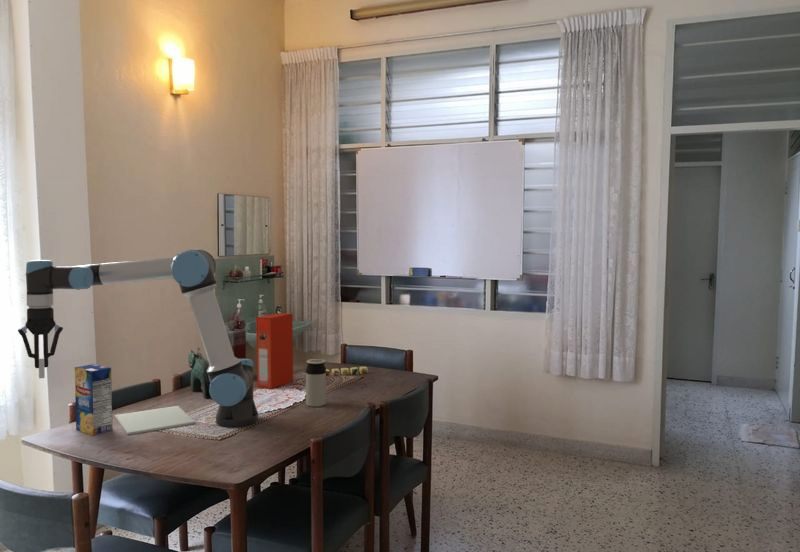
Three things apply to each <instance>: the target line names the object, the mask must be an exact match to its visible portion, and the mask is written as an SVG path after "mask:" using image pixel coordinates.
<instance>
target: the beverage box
mask: <svg viewBox="0 0 800 552" xmlns="http://www.w3.org/2000/svg"><path fill="white" fill-rule="evenodd" d="M112 387H113V386H112V367H110V366H106V365H105V366H104V365H101V364H97V363H91V364H87V365H81V366H74V392H75V393H74V394H75V395H74V396H75V397H74V398H75V399H74V401H75V429H76V430H77V431H80V432H83V433H85V434H88V435H92V436H96V435H100V434H103V433H107V432H111V431H113V397H112V396H113V393H112V392H113V389H112Z"/></svg>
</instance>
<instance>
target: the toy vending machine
mask: <svg viewBox="0 0 800 552" xmlns="http://www.w3.org/2000/svg"><path fill="white" fill-rule="evenodd" d="M227 328H228V329H226V331H227V334H228V337H229V340H230V344H231V347H232V350H233V353H234V356H235V357H236V358H238V359H247V332H246V329H241V328H240V329H239V328H238V322H237V321H236V320H229V321H228V322H227Z"/></svg>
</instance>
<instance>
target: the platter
mask: <svg viewBox="0 0 800 552" xmlns="http://www.w3.org/2000/svg"><path fill="white" fill-rule="evenodd" d="M330 372H331V373H330ZM359 372H360V373H359ZM368 372H369V370H368V367H367V366H359V367H357V366H356V367H354V366H353V367H350V368H348V367H341V368H340V369H339V368H331V371H330V370H329V369H327V368H326V376H332V375H333V377H335V376H334V375H341V374H342V375H341V376H349V375H352V374H356V375H359V374H361V375H364V374H363V373H368ZM350 373H351V374H350ZM330 374H331V375H330ZM348 374H349V375H348Z"/></svg>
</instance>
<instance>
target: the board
mask: <svg viewBox="0 0 800 552" xmlns="http://www.w3.org/2000/svg"><path fill="white" fill-rule="evenodd" d="M115 419H116V421H117V422H118V423H119V425H120V426H121V428H122V429H123V431H124V432H125V434H126V435H127V436H130V435H134V434H140V433H141V434H143V433H147V432H152V431H153V432H154V431H160V430H166V429H171V428H177V427H183V426H189V425H195V423H196V422H195V420H194V419H193V418H191V417H190V416H189V415H188V414H187V413H186V411H184V410H183V409H182V408H181V407H180V406H179V405H174V406H169V407H168V406H167V407H159V408H154V409H153V408H152V409H145V410H139V411H133V412H126V413H119V414H115Z"/></svg>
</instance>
